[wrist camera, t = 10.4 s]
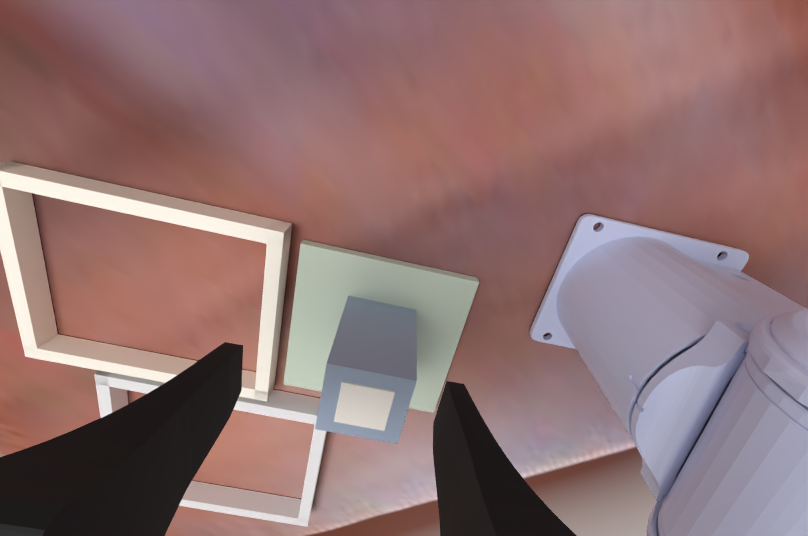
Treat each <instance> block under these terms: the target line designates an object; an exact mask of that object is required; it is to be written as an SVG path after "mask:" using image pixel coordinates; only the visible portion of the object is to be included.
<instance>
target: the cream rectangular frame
mask: <svg viewBox="0 0 808 536" xmlns="http://www.w3.org/2000/svg"><path fill="white" fill-rule="evenodd" d="M32 193H34V194H39V195H43V196H48V197H53V198H57V199H62V200H67V201H71V202H76V203H81V204H85V205H90V206H94V207H99V208H104V209H108V210H113V211H118V212H122V213H127V214H132V215H136V216H141V217H145V218H150V219H155V220H159V221H164V222H169V223H173V224H178V225H183V226H187V227H192V228H196V229H201V230H206V231H210V232H215V233H220V234H224V235H229V236H234V237H238V238H243V239H248V240H252V241H257V242H261V243H266V244H267V250H266V262H265V274H264V286H263V298H262V310H261V323H260V335H259V347H258V359H257V371H256V372H253V371H247V370H242V391H241V393H240V395H239V396H240V397H245V398H250V399H256V400H261V401H266V402H267V400H268V398H269V396H270V394H271V392H272V390H273V388H274V385H275V377H276V368H277V359H278V350H279V341H280V332H281V323H282V313H283V304H284V295H285V286H286V277H287V268H288V259H289V249H290V240H291V231H292V223H288V222H284V221H279V220H275V219H270V218H266V217H261V216H257V215H252V214H248V213H243V212H239V211H234V210H229V209H225V208H220V207H216V206H211V205H207V204H202V203H198V202H193V201H189V200H184V199H180V198H175V197H170V196H166V195H161V194H157V193H152V192H148V191H143V190H139V189H134V188H130V187H125V186H121V185H116V184H112V183H107V182H102V181H98V180H93V179H89V178H84V177H80V176H75V175H71V174H66V173H62V172H57V171H53V170H48V169H43V168H39V167H34V166H30V165H25V164H21V163H16V162H12V161H9V162H3V163H0V250H1V254H2V259H3V263H4V267H5V272H6V276H7V280H8V284H9V289H10V293H11V297H12V301H13V306H14V310H15V314H16V318H17V323H18V327H19V331H20V335H21V340H22V344H23V348H24V353H25V357H31V358H36V359H41V360H47V361H52V362H57V363H63V364H68V365H73V366H79V367H84V368H89V369H95V370H100V371H106V372H111V373H116V374H122V375H127V376H132V377H138V378H143V379H148V380H154V381H159V382H165V383H166V382H167V381H169V380H171V379H172V378H174V377H175V376H177V375H178V374H180V373H181V372H183V371H184V370H186V369H187V368H189V367H190V366H192V365H193V364H194V363H196V362H197V361H195V360H190V359H185V358H180V357H174V356H169V355H164V354H159V353H154V352H148V351H143V350H138V349H133V348H127V347H122V346H117V345H112V344H107V343H101V342H96V341H91V340H86V339H80V338H75V337H70V336H65V335H60V334H58V332H57V327H56V322H55V316H54V311H53V305H52V300H51V295H50V289H49V284H48V278H47V273H46V267H45V262H44V257H43V251H42V246H41V240H40V235H39V230H38V224H37V219H36V213H35V208H34V203H33V197H32Z"/></svg>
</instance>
